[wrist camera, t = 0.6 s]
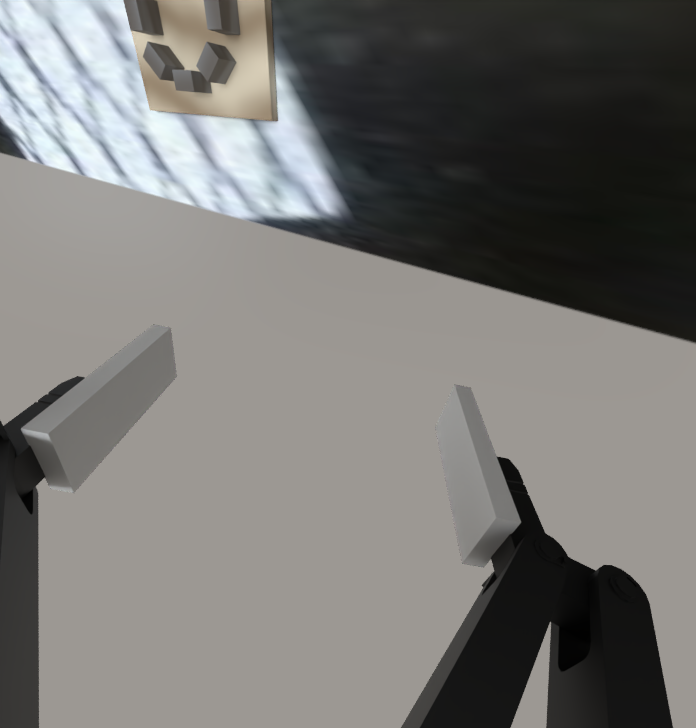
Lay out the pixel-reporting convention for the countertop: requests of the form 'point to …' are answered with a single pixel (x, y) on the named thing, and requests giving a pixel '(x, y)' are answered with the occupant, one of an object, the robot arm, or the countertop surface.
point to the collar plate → (189, 49)
